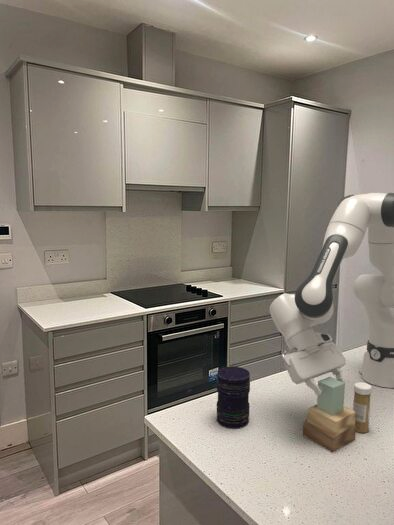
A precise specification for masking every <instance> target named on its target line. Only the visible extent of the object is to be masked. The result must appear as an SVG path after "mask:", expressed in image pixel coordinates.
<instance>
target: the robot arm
mask: <svg viewBox="0 0 394 525" xmlns="http://www.w3.org/2000/svg"><path fill="white" fill-rule="evenodd" d="M366 232H367V238H368V239H367V240H368V241H367V242H368V255H369V256H368V257H369V261H370V264H371V265H372V266H373V267H374V268H375V269H377V270H379V272H381V274H377V273H367V274H360V275H359V276H358V277H357V278H356V279H355V281H354V283H353V293H354V296H355V297H356V298H357V299H358V300H359V301H360V303H362V305H363V308H364V309H365V311H366V316H367V318H368V328H369V329H368V340H367V341H366V342H367V343H366V351H365V352H364V354H363V359H362V365H361V368H359V369H358V372H359V374H362V375H361V378H362V380H363V381H365V382H367V384H371V385H373V386H377V387H381V388H382V387H383V388H388V389H391V388H392V389H393V388H394V313H393V311H392V309H394V192H389V193H386V192H368V193H361V194H348V195H346V196H343V197H342V198H341V199H340V200H339V202H338V203H337V206H336V210H334V213H333V215H332V216H331V218H330V221H329V223H328V226H327V228H326V232H325V234H324V239H323V242H322V243H323V244H322V249H321V251H320V253H319V255H318V257H317V260H316V261H315V264H314V266H313V269H312V271H311V273H310V274H309V275H308V277H307V278H306V279H305V280H304V281H303V282H302V283H301V284H300V285H299V286H298V287H297V289H296V291H295V292H294V294H293V293H285V292H284V293H282V294H280V295H278V296H277V297H276V298H274V299H273V300H272V301H271V303H270V306H269V314H270V317H271V320H272V321H273V324H274V325H275V327H276V329H277V330H278V332H279V333H281V334H282V336H283V338H284V342H285V344H286V345H287V347H288V350H285V351H283V353H282V355H281V356H282V357H281V358H282V360H283V363H284V365H285V368H286V370H287V372H288V375H289V377H290V379H291V381H292V383H294V384H296V385H299V384H303V383H305V385H306V386H307V387H308V388H309V389H310V390H312V391H313V392H314V394H315V395H316V397H317V396H318V395H320V394H322V393H323V392H324V391H323V389H322V387H321V386H318V383H316V382H315V379H316V378H318V377H321V376H323V375H326V374H329V373H332V374H333V376H335V379H336V380H339V381H341V382H343V383H345V384H346V381H345V380H344V378H343V374H342V373H343V371H342V370H341V368H343V367H344V366H345V365H347V362H346V357H345V356H344V354H343V353H342V351H341V350H340V348H339V347H338V345H336V343H334V342H332V341H333V337H332V336H331V335H330V334H329V333H322V332H318V331H314V329H313V328H314V327H316V326H320V325H322V324H325V323H326V322H328V321H329V320H330V319H331V318H332V317H333V314H334V302H333V301H334V299H333V283H334V281H335V278H336V276H337V273H338V271H339V268H340V266H341V264H342V262H343V260H345V259H347V258H351V257H353V256H354V255H355V254H356V253H357V251H358V250H359V248H360V246H361V244H362V243H363V240H364V237H365V235H366ZM391 308H392V309H391Z"/></svg>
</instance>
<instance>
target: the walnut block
mask: <svg viewBox="0 0 394 525" xmlns="http://www.w3.org/2000/svg"><path fill="white" fill-rule="evenodd" d="M356 433H357V431H356V426H353V427H351V428H349V429H348V430H346V431H344V432H342V433H340V434H339V435H337V436H334V435H332V434H330V433H328V432H326V431H324V430H322V429H320V428H318V427H316V426H315V425H313V424H311V423H309V422H307V419H305V420H303V421H302V436H303V437H304V438H306V439H308V440H310V441H312V442H313V443H315V444H317V445H318V446H320V447H322V448H324V449H326V451H329V452H331V453H335V452H336V451H338V450H340V449H342V448H344V447H345V446H347V445H349V444H350V443H351V444H352V443H353V442H354V441H356Z"/></svg>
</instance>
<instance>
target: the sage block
mask: <svg viewBox="0 0 394 525" xmlns="http://www.w3.org/2000/svg"><path fill="white" fill-rule="evenodd" d="M317 385H318V386H321V387H322V389H323V391H324V392H323V393H322V394H320V395H318V396H317V395H316V398H317V399H316V404H317V409H319V410H321V411H323V412H325V413H327V414H329V415H331V416H333V415H335V414H337V413H339V412H342V411H343V410H344V407H345V392H346V391H345V389H346V382H345V383H343V382H341V381H339V380H336V378H333V377H331V376H329V377H325V378H322V379H320V380H318V381H317Z"/></svg>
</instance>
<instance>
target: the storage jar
mask: <svg viewBox="0 0 394 525" xmlns="http://www.w3.org/2000/svg"><path fill="white" fill-rule="evenodd" d="M216 374H217V375H216V376H217V377H216V391H217V401H216V422H217V423H218V425H220V426H221V427H224V428H226V429H230V430H231V429H232V430H233V429H234V430H235V429H236V430H237V429H242V428H245V427H246V426H248V424H249V423H250V418H249V417H250V402H249V396H250V390H251V381H250V380H251V379H250V378H251V374H250V371H249V370H248V369H246V368H243V367H241V366H224V367H222V368H219V369H218V370H217V373H216Z"/></svg>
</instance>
